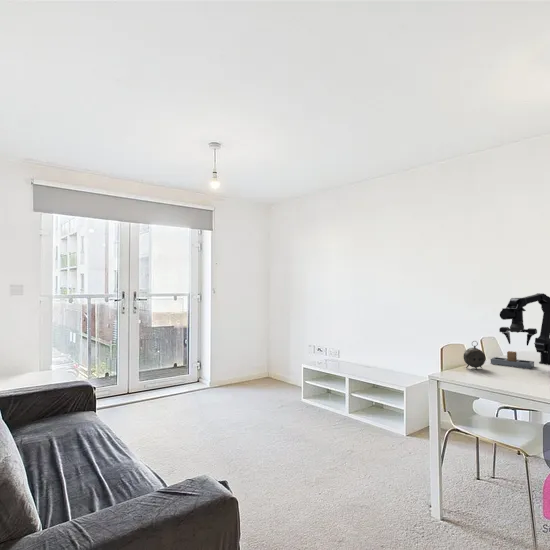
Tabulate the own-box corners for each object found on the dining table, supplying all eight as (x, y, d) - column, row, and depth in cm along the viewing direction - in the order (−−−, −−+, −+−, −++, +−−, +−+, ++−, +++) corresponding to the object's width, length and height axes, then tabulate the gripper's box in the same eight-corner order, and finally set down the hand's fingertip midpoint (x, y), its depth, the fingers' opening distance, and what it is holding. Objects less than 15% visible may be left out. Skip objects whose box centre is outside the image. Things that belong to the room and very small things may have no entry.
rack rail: (490, 363, 238) (490, 359, 238) (494, 361, 245) (494, 356, 245) (530, 368, 224) (530, 363, 224) (534, 366, 230) (534, 361, 230)
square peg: (509, 364, 237) (508, 351, 237) (516, 365, 234) (516, 351, 234) (507, 365, 234) (507, 351, 234) (515, 366, 231) (514, 352, 231)
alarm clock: (482, 368, 226) (482, 340, 227) (487, 370, 221) (486, 341, 221) (463, 367, 228) (462, 340, 228) (467, 369, 222) (466, 341, 223)
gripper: (496, 319, 235) (497, 345, 235) (532, 320, 222) (533, 348, 222) (501, 317, 243) (502, 342, 243) (536, 319, 230) (537, 345, 230)
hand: (518, 344), depth 234 cm, fingers open, 9 cm apart
